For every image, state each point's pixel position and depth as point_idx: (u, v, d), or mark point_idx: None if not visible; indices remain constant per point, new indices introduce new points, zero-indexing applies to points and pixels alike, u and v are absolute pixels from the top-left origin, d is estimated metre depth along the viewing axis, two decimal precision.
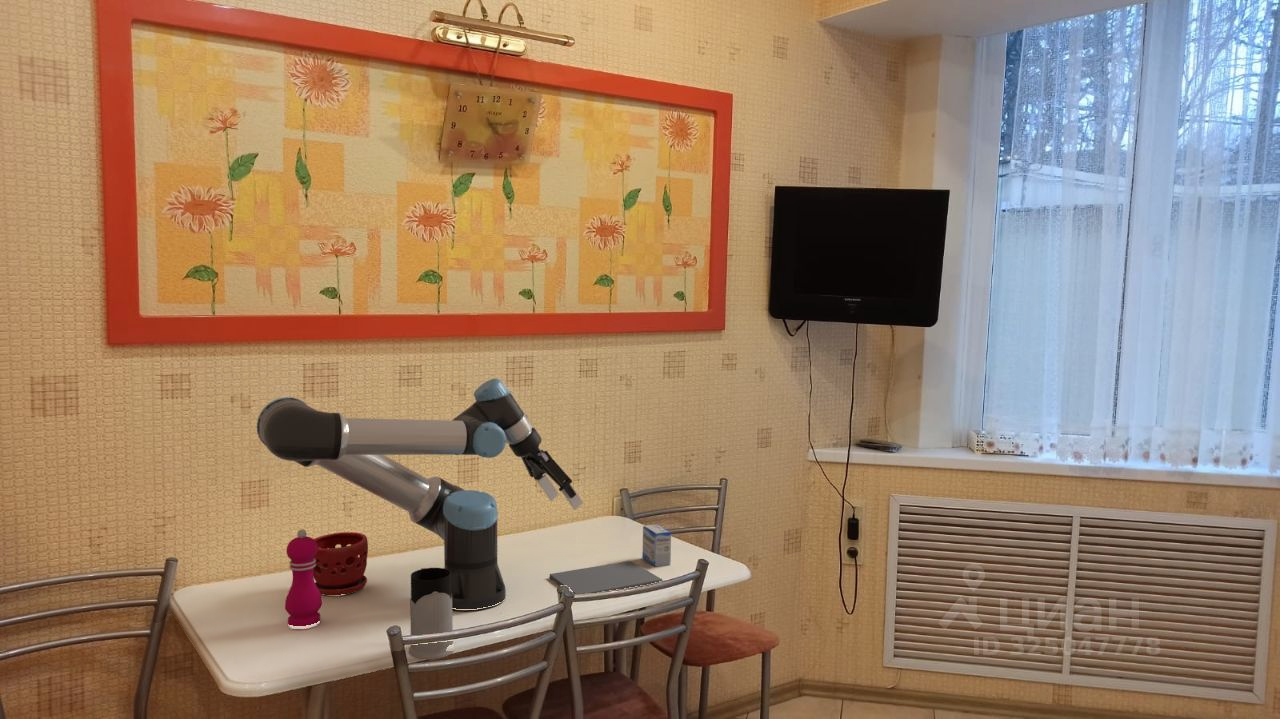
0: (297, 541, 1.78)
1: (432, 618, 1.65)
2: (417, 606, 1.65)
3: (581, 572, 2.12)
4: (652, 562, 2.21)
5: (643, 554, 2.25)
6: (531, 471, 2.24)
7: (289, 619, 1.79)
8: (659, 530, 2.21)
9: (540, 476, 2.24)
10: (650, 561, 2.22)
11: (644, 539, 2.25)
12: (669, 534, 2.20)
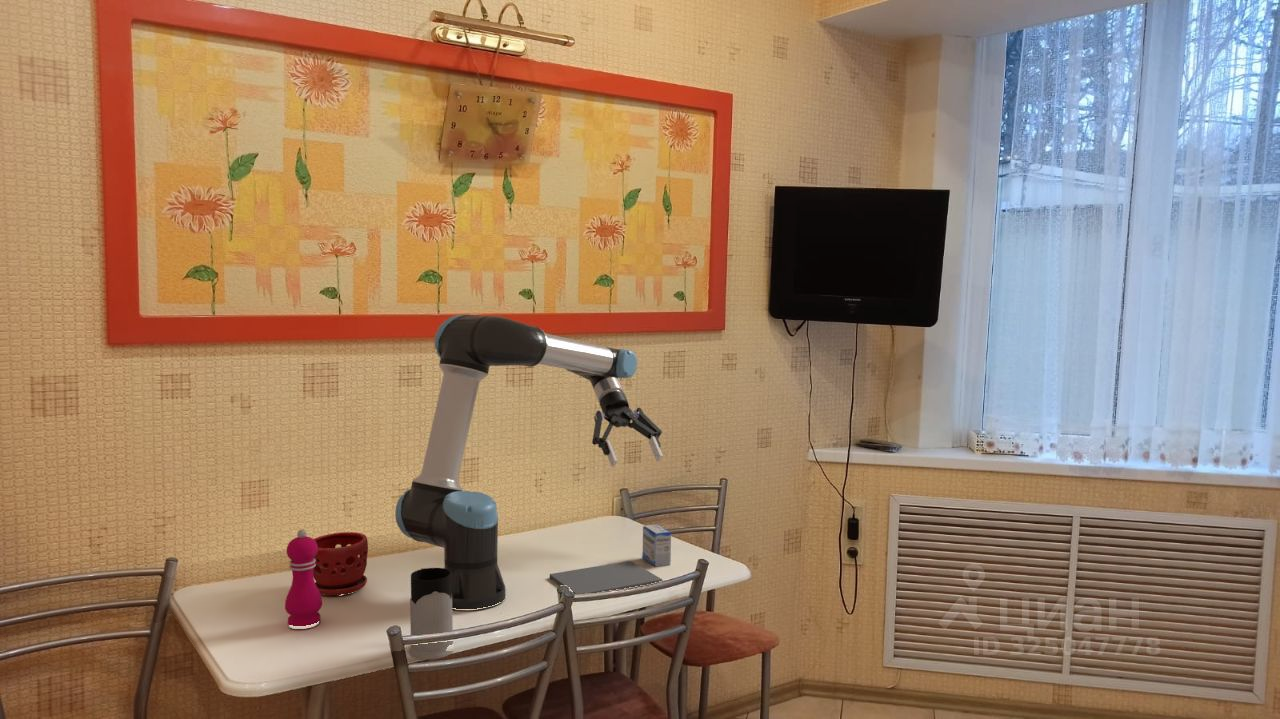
0: (297, 541, 1.78)
1: (432, 618, 1.65)
2: (417, 606, 1.65)
3: (581, 572, 2.12)
4: (652, 562, 2.21)
5: (643, 554, 2.25)
6: None
7: (289, 619, 1.79)
8: (659, 530, 2.21)
9: None
10: (650, 561, 2.22)
11: (644, 539, 2.25)
12: (669, 534, 2.20)
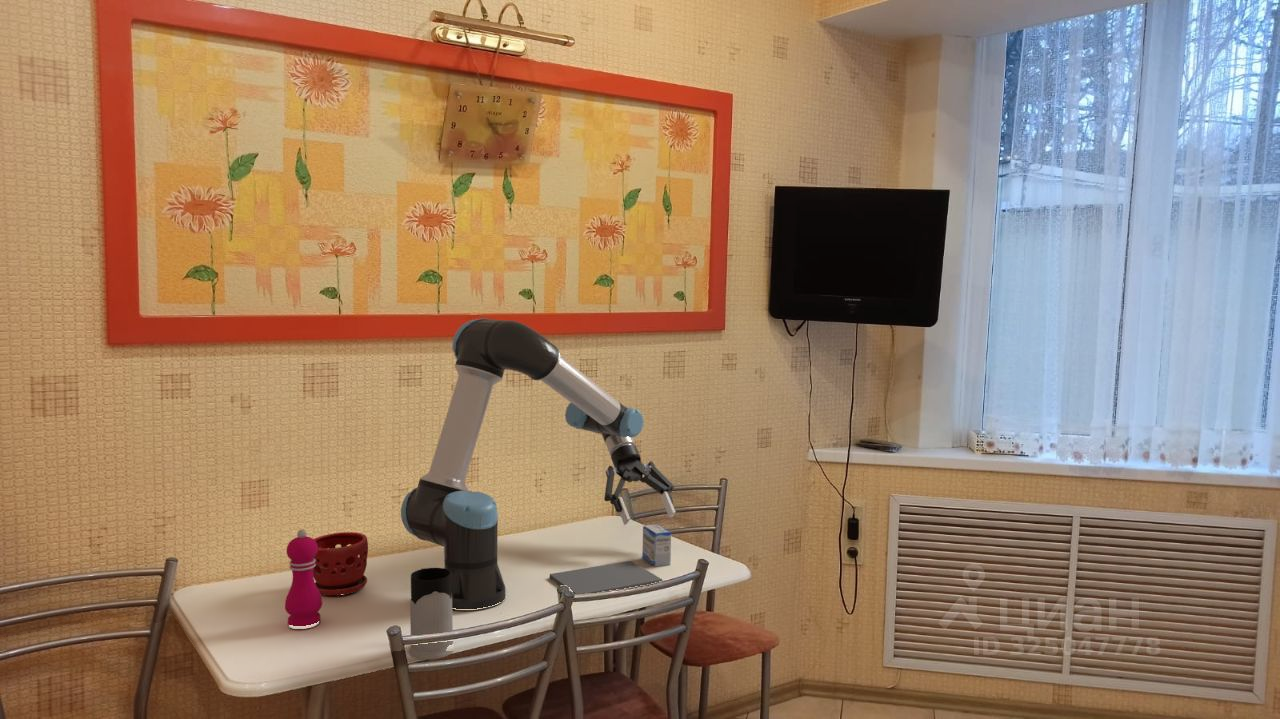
0: (297, 541, 1.78)
1: (432, 618, 1.65)
2: (417, 606, 1.65)
3: (581, 572, 2.12)
4: (652, 562, 2.21)
5: (643, 554, 2.25)
6: (611, 490, 2.28)
7: (289, 619, 1.79)
8: (659, 530, 2.21)
9: None
10: (650, 561, 2.22)
11: (644, 539, 2.25)
12: (669, 534, 2.20)
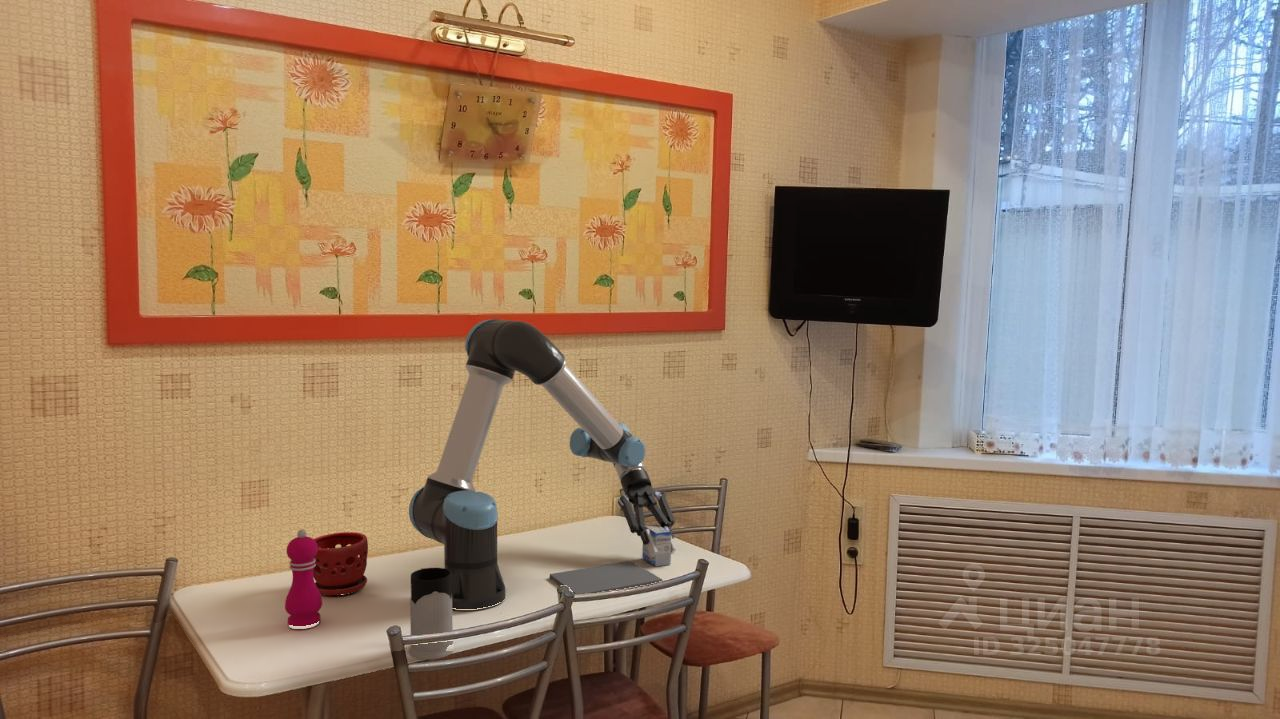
0: (297, 541, 1.78)
1: (432, 618, 1.65)
2: (417, 606, 1.65)
3: (581, 572, 2.12)
4: (652, 562, 2.21)
5: (643, 554, 2.25)
6: None
7: (289, 619, 1.79)
8: (659, 530, 2.21)
9: None
10: (650, 561, 2.22)
11: None
12: (669, 534, 2.20)
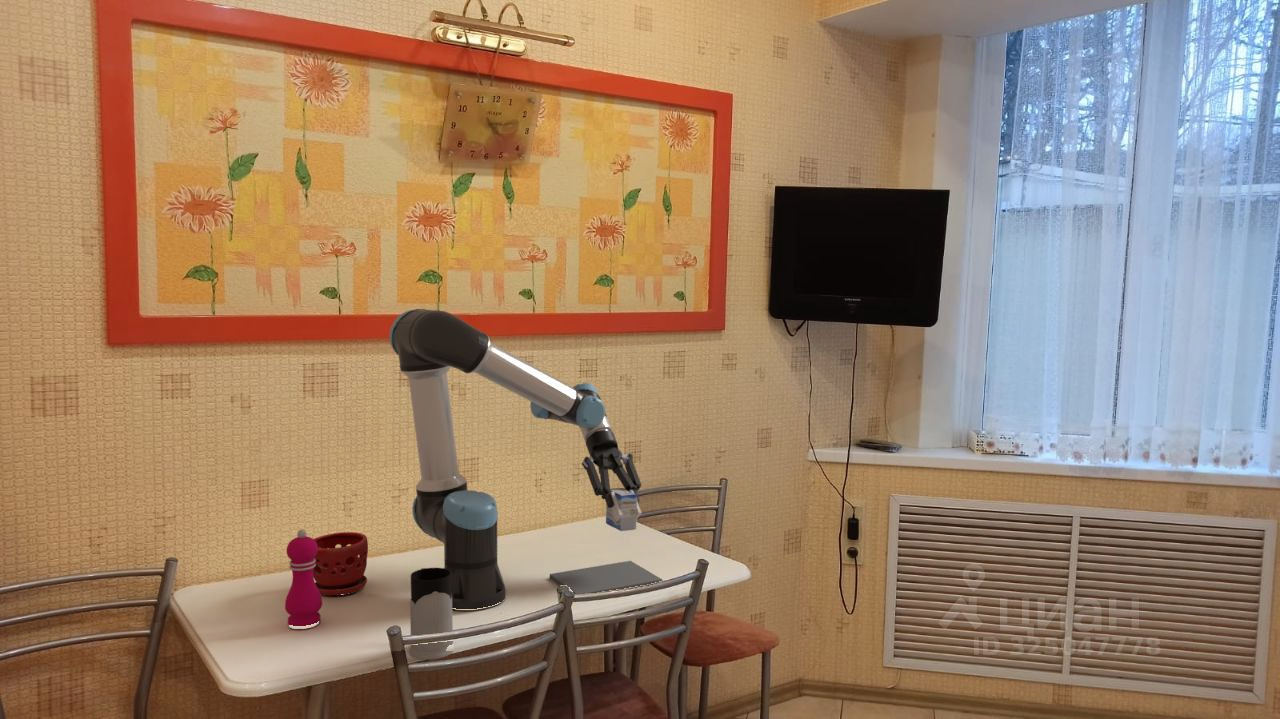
0: (297, 541, 1.78)
1: (432, 618, 1.65)
2: (417, 606, 1.65)
3: (581, 572, 2.12)
4: (617, 526, 2.09)
5: (607, 519, 2.13)
6: None
7: (289, 619, 1.79)
8: (624, 493, 2.10)
9: None
10: (615, 525, 2.10)
11: None
12: (635, 497, 2.09)
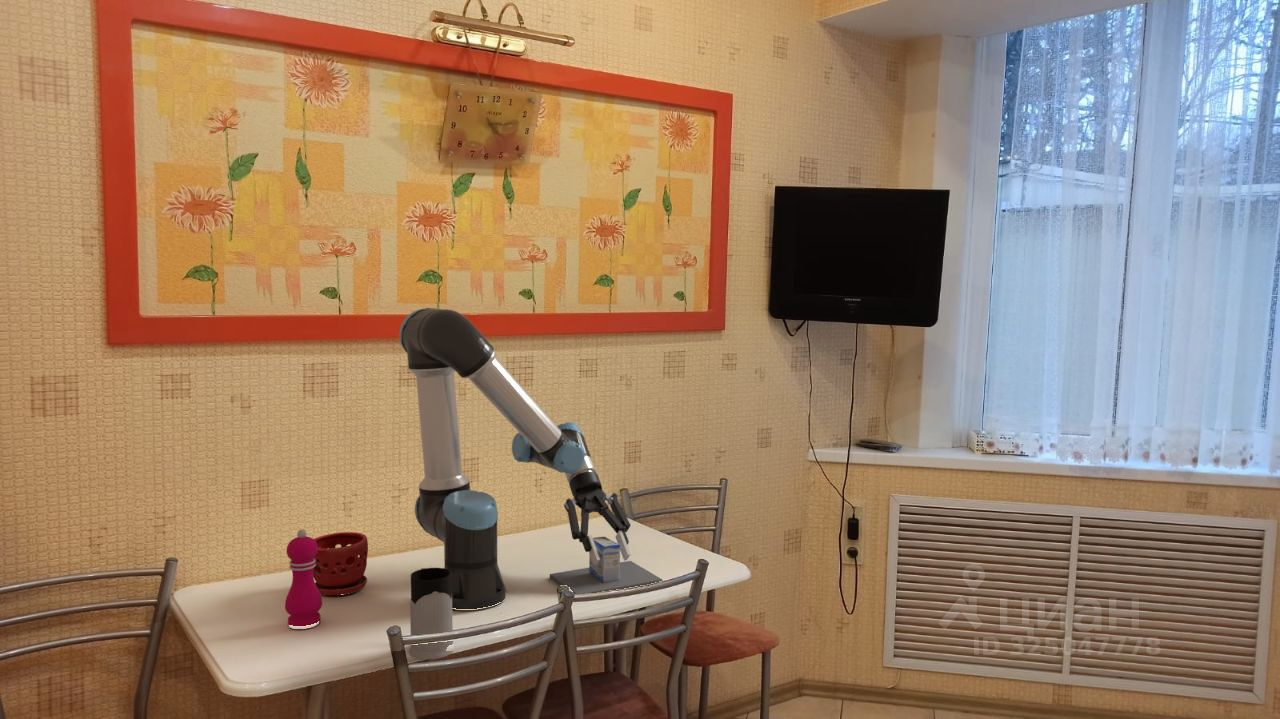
0: (297, 541, 1.78)
1: (432, 618, 1.65)
2: (417, 606, 1.65)
3: (581, 572, 2.12)
4: (600, 577, 2.06)
5: (590, 569, 2.10)
6: None
7: (289, 619, 1.79)
8: (607, 543, 2.06)
9: None
10: (598, 576, 2.07)
11: None
12: (618, 547, 2.05)
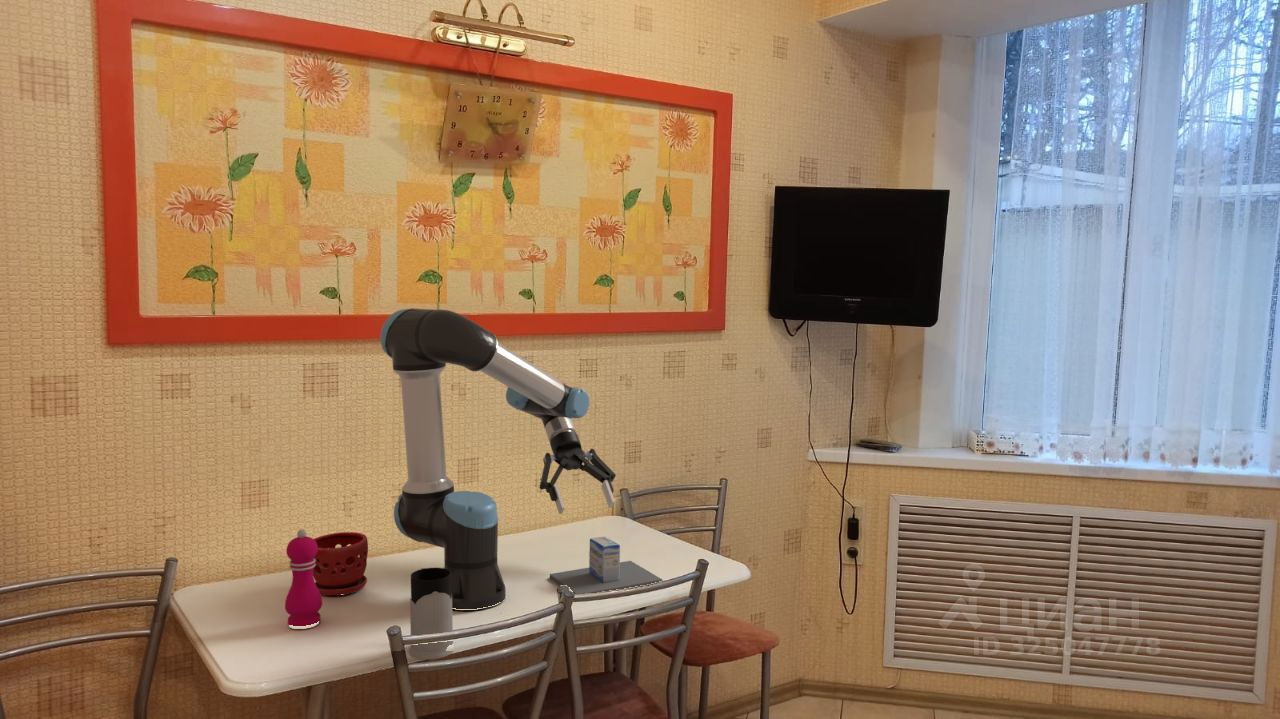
0: (297, 541, 1.78)
1: (432, 618, 1.65)
2: (417, 606, 1.65)
3: (581, 572, 2.12)
4: (600, 577, 2.06)
5: (590, 569, 2.10)
6: (547, 478, 2.17)
7: (289, 619, 1.79)
8: (607, 543, 2.06)
9: None
10: (598, 576, 2.07)
11: (591, 553, 2.10)
12: (618, 547, 2.05)
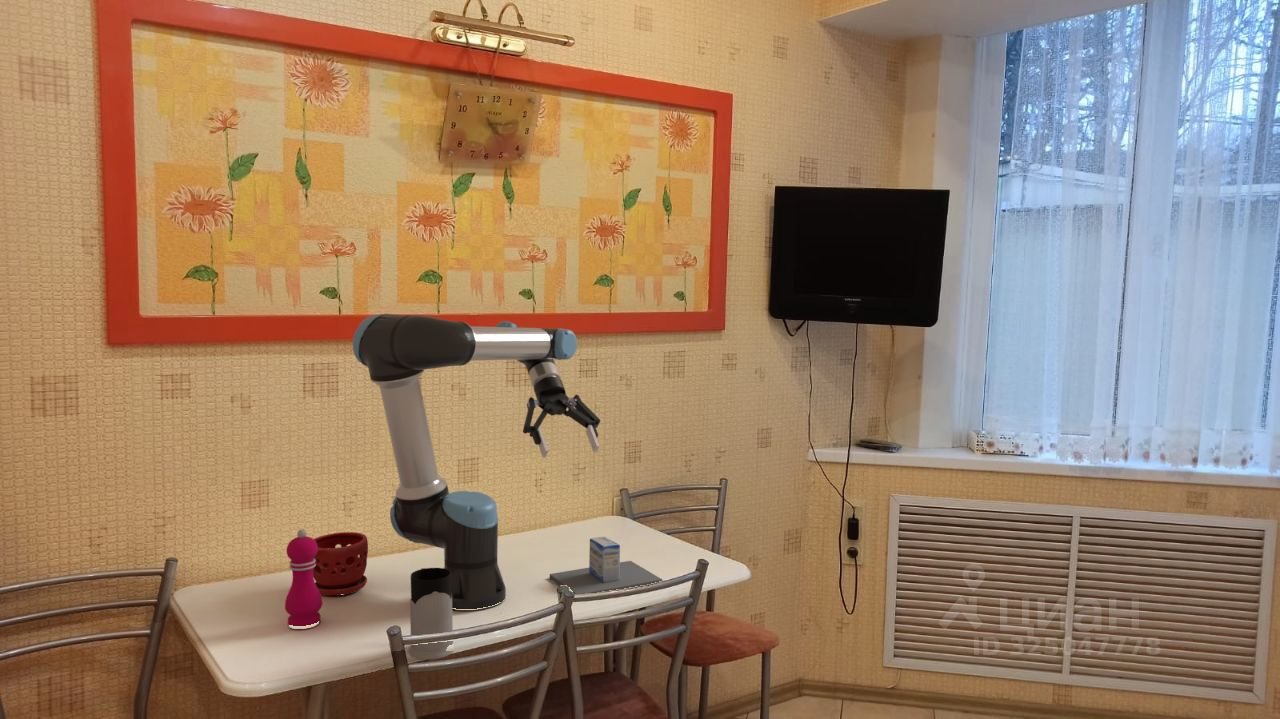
0: (297, 541, 1.78)
1: (432, 618, 1.65)
2: (417, 606, 1.65)
3: (581, 572, 2.12)
4: (600, 577, 2.06)
5: (590, 569, 2.10)
6: (530, 422, 2.14)
7: (289, 619, 1.79)
8: (607, 543, 2.06)
9: None
10: (598, 576, 2.07)
11: (591, 553, 2.10)
12: (618, 547, 2.05)
